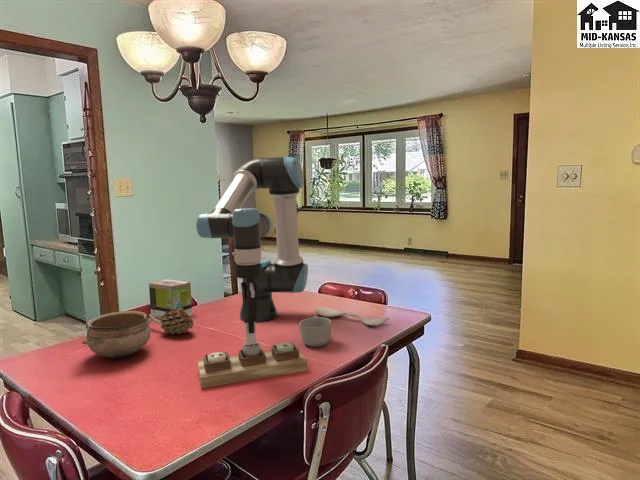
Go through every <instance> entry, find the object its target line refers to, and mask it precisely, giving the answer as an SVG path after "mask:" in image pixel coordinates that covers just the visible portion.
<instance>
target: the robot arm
mask: <svg viewBox="0 0 640 480" xmlns="http://www.w3.org/2000/svg"><path fill="white" fill-rule="evenodd" d="M303 173H304V172H303V169H302V165H301V161H299V159H298V158H297V157H295V156H294V157H293V156H292V157H291V156H276V157H275V156H274V157H257V158H253V159H251V160H248V161H247V162H245V163H243V164H242V165H241V166H240V167H238V168H237V169H236V170H235V172H234V173H233V174H232V177H231V182H230V184H229V185H228V186H227V188H226V190H225V192H224V193H223V194H222V196H220V199H219V201H217V204H215V206H214V208H213V209H212V210H211V212H210V213H202V214H199V215H198V216H197V217H196V231H197V234H198V236H199V237H201V238H205V239H233V250H234V251H233V252H232V253H231V255H232V256H234V257H233V258H234V263H235V264H234V277H235V278H238V279H242V282H240V288H241V296H242V303H241V307H240V310H239V319H240V320H241V321H243V323H244V325H245V328H244V329H245V330H244V331H245V343H247V344H252V343H256V342H257V332H256V330H257V328H256V323H259V322H266V321H270V320H273V319H275V318H276V317H277V315H278V313H277V307H276V305H275V301H274V299H273V293H286V294H287V293H288V294H291V293H292V294H294V293H295V294H296V293H302V292H304V291H305V289H306V286H307V282H308V276H309V275H308V274H309V268H308V267H309V266H308V264H307V263H304V258H303V257H302V256H301V255H300V250H299V249H300V248H299V231H298V230H299V229H298V228H299V227H298V211H297V196H298V195H299V193H300V189H301V188H303V187H304V174H303ZM259 189H264V190H266V189H268V194H269V195H270V196H271V197H272V198H273V208H274V223H275V235H276V237H275V238H276V251H277V252H276V253H277V257H276V258H275V259H274V262H273V263H272V261H271V260H270V259H262V246H261V238H264V237H265V236H266V235H268V234H269V233H270V231H271V230H272V227H273V225H272V224H273V223H272V220H271V218H270V217H269V216H268V215H267V214H266V213H264V212H260V210H259V209H258V208H255V207H254V208H253V207H243V206H244V204H245V203H246V201H247V199H248V198H249V196H250V195H251V194H252V193H253V192H255V191H256V190H259Z"/></svg>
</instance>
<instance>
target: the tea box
mask: <svg viewBox="0 0 640 480" xmlns="http://www.w3.org/2000/svg"><path fill="white" fill-rule="evenodd" d="M148 289H149V293H148V294H149V304H150V314H151V315H153V317H154V318H156V319H160V318H161V316H162V315H164V314H165V313H166V312H167V311H168V312H170V311H172V309H176V310H177V309H178V308H183V310H184V311H186V310H187V313H189V314H191V317H192V315H193V306H192V305H193V304H192V291H191V290H192V287H191V282H190V281H184V280H178V279H168V278H167V279H166V278H165V279H161V280H158V281H157V280H156V281H153V282H149V283H148Z"/></svg>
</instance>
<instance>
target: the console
mask: <svg viewBox="0 0 640 480" xmlns="http://www.w3.org/2000/svg"><path fill="white" fill-rule="evenodd" d="M290 343H291V344H293V351H287V352H280V353H278V352H277V348H276V346H277V345H278V344H273V345H271V348H270V349H271V350H266V351H265V350H263V348H262V347H260V356H253V357H246V358H245V357H243V349H239V350H238V352H237V353H238V354H237V355H236V354H235V355H229V352H228V351H223V353H225V354H226V361H219V362H212V363H208V355H209V353H208V354H203V359H202V360H197V371H198V377H199V383H200V388H201V389H203V388H210V387H217V386H222V385H229V384H235V383H241V382H247V381H254V380H259V379H260V380H261V379H264V378H265V379H266V378H270V377H272V378H273V377H278V376H282V375H289V374H295V373H302V372H307V371H308V360H307V359H306V358H305V356H304V355H303V354H302V353H301V352H300V349H299V347H297V345H296V344H295V343H294V342H290Z"/></svg>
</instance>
